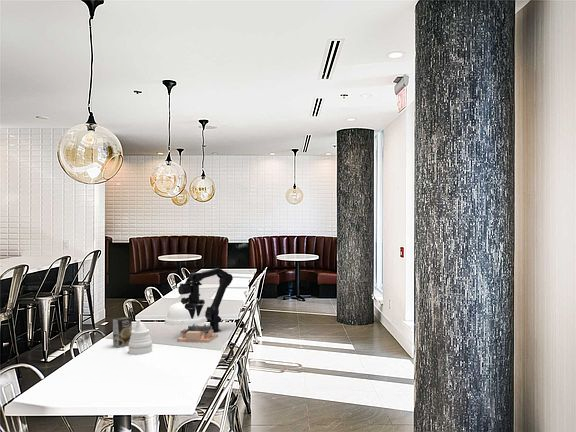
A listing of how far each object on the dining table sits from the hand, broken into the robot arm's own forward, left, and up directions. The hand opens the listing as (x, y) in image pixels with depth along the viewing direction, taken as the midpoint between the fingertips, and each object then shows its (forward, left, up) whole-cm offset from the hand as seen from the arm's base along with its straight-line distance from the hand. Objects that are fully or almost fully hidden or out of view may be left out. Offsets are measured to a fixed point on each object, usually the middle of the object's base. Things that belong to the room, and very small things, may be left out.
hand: (195, 317), depth 353 cm
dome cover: (-42, -25, -12) cm, 50 cm away
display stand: (+11, +6, -11) cm, 17 cm away
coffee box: (+33, -32, -11) cm, 47 cm away
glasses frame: (+11, +6, -7) cm, 14 cm away
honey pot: (+45, -14, -11) cm, 48 cm away
